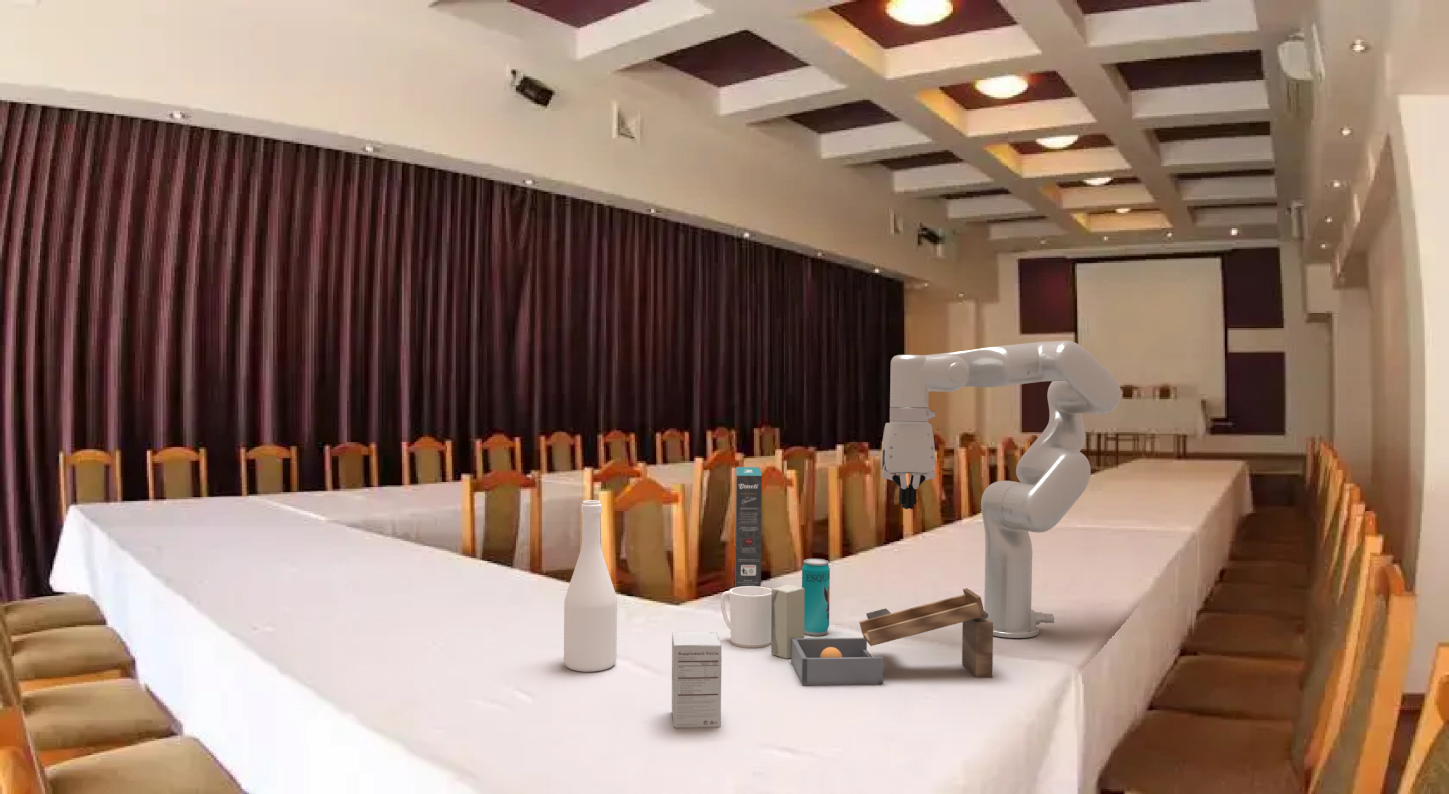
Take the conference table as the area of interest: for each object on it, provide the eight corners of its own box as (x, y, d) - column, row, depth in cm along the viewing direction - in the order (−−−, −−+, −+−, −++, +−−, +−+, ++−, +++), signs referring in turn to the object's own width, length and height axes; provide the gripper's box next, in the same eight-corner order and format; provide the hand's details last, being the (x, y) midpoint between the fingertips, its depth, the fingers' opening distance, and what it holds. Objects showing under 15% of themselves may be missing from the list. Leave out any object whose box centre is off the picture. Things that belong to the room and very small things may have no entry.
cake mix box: (760, 602, 218) (761, 475, 218) (735, 602, 219) (736, 475, 218) (758, 582, 240) (759, 467, 240) (735, 582, 240) (736, 467, 240)
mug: (778, 639, 187) (779, 588, 187) (766, 650, 179) (766, 597, 179) (727, 633, 191) (727, 584, 191) (712, 645, 182) (713, 593, 182)
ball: (844, 653, 167) (827, 640, 167) (849, 659, 163) (831, 646, 163) (830, 670, 167) (813, 657, 167) (835, 677, 163) (817, 664, 163)
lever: (959, 597, 179) (955, 577, 179) (988, 618, 164) (984, 596, 164) (853, 625, 178) (848, 605, 178) (872, 648, 162) (867, 626, 162)
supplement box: (670, 711, 145) (671, 631, 145) (717, 710, 146) (718, 630, 146) (672, 729, 138) (672, 644, 138) (721, 728, 139) (722, 644, 138)
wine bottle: (573, 676, 162) (574, 505, 162) (557, 661, 171) (558, 499, 170) (624, 669, 166) (625, 502, 166) (605, 655, 175) (607, 496, 174)
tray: (865, 661, 172) (865, 637, 172) (882, 684, 159) (883, 658, 159) (791, 662, 171) (791, 638, 171) (802, 685, 158) (802, 659, 158)
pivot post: (976, 663, 172) (977, 596, 172) (992, 677, 164) (993, 607, 164) (960, 663, 172) (961, 596, 172) (975, 677, 164) (976, 607, 163)
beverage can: (827, 637, 188) (828, 564, 188) (799, 635, 190) (800, 563, 189) (830, 630, 194) (831, 559, 194) (803, 628, 195) (803, 557, 195)
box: (787, 649, 180) (788, 583, 180) (805, 654, 177) (806, 587, 176) (769, 655, 176) (770, 587, 176) (786, 660, 173) (787, 591, 173)
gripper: (939, 416, 189) (938, 505, 189) (867, 415, 188) (866, 505, 188) (951, 417, 181) (950, 510, 182) (876, 417, 180) (875, 510, 180)
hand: (907, 508), depth 185 cm, fingers closed
